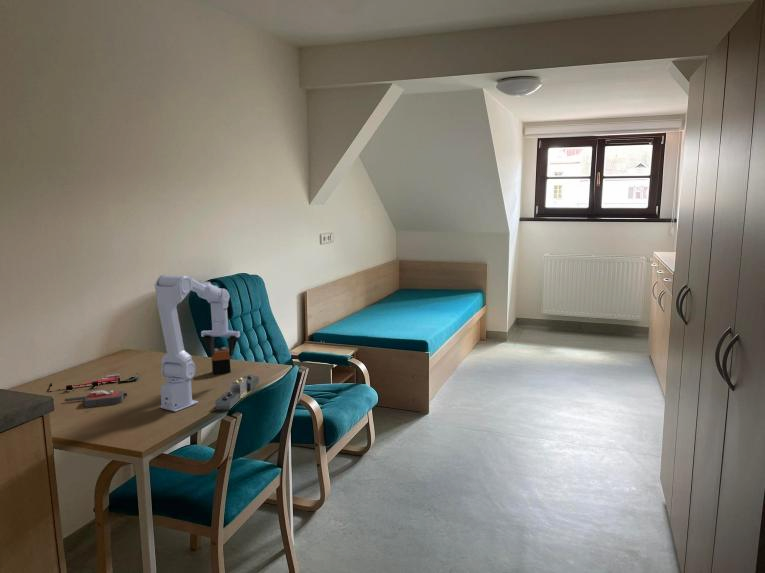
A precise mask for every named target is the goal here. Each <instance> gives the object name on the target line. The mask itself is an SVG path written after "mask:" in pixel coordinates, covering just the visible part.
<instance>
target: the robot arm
mask: <svg viewBox="0 0 765 573" xmlns="http://www.w3.org/2000/svg"><path fill="white" fill-rule="evenodd" d="M154 289H155V290H154V291H155V294H156V300H157V302H156V303H157V309H158V314H159V320H160V324H161V325H160V326H161V330H162V336H163V339H164V340H163V341H164V345H165V349H166V354H165V355H164V356H163V357H162V358H161V375H162V376H163V377H164V378H165V380H166V382H165V383H164V384H162V385H161V386H160V389H159V390H160V392H159V393H160V402H161V403H160V404H161V405H160V408H161V409H163V410H168V411H172V412H178V411H181V410H184V409H187V408H188V407H191V406H194V405H196V404H198V403H199V401H198V400H193V392H192V379H193V377H195V376H194V375H195V374H196V370H197V369H196V364H195V362H194V360H193V358H192V355H191V354H190V353H189V352H187V351H186V350H185V346H184V342H183V335H182V331H181V325H180V319H179V313H178V309H177V305H179V304H180V303H182V301H184V299H185V298H186V297H187V295H188V294H189V293H190V291H192V292H194V293H196V294H197V296H198V298H200V299H204V300H206V301H207V303H208V304H210V313H211V314H210V315H211V316H210V317H211V330H201V332H200V335H201V337H203V338H202V341H203V343H204V344H205V346H206V348H207V350H208V352H209V356H212V355H214V349H215V337H218V338H219V337H220V338H221V337H222V338H223V337H224V338H225V337H226V338H227V339H226V342H227V344H228V349H229V356H230V357H233V356H234V353H235V347H236V344H237V342H238V340H239V339H240V336H241V332H240V330H232V329H231V330H230V329H229V321H228V317H229V316H228V307H229V301H230V298H231V297H230V296H231V295H230V293H229V291H228V290H227V289H226V288H220V287H219V286H218V285H215V284H212V283H211V281H205V282H203V281H202V282H201V283H200V282H199V281H198V280H195V279H193V278H192V276H188V275H185V274H184V275H170V274H169V275H168V274H167V275H166V274H160V275H159V277H158V278H157V279H156V281H155V283H154Z"/></svg>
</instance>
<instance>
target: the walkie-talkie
mask: <svg viewBox="0 0 765 573" xmlns="http://www.w3.org/2000/svg"><path fill="white" fill-rule="evenodd" d="M126 396H128V393H127V392H124V390H118V391H114V390H113V389H112V390H110V391H107V390H104V389H100V390H93V391H90V392H89V394H87V395H85V396H78V397H77V396H76V397H67V398H66V397H65V398H64V402H73V401H82V405H83V406H84V407H85V408H93V406H94V407H99V406H109V405H116V404H117V403H119V404H122V403H123V401H124V399H123V398H125V397H126ZM117 405H118V404H117Z"/></svg>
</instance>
